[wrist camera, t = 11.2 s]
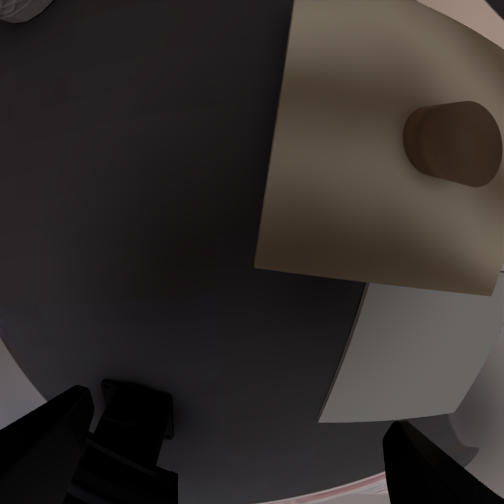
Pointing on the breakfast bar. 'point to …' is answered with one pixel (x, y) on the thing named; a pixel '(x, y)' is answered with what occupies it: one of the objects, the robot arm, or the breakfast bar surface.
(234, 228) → the breakfast bar surface
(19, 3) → the white cup
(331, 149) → the lid
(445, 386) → the mat
